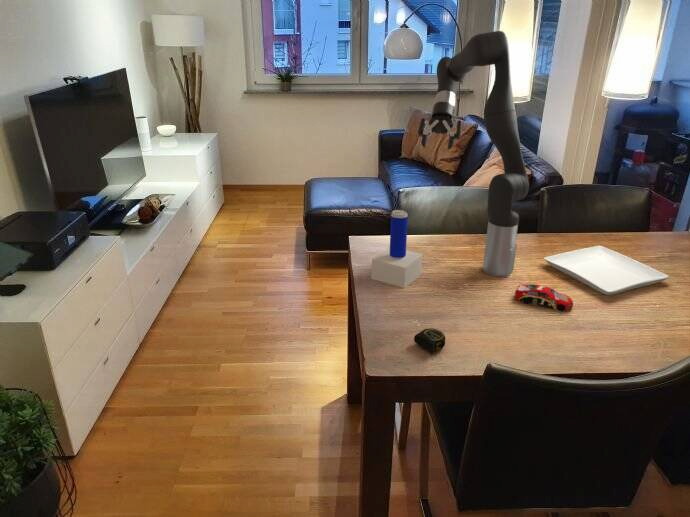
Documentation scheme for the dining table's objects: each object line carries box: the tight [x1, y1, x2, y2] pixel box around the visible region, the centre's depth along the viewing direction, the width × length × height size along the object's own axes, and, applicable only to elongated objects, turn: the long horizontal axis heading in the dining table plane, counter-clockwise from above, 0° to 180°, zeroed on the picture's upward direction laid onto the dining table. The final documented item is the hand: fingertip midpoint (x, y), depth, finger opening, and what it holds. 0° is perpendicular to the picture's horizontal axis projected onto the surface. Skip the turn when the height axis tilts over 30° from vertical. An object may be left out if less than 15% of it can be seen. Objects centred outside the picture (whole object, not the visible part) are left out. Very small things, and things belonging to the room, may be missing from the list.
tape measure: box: [413, 327, 446, 355], centre depth 134 cm, size 7×7×4 cm
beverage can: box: [389, 209, 409, 259], centre depth 165 cm, size 5×5×15 cm
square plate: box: [543, 245, 670, 296], centre depth 172 cm, size 27×27×4 cm
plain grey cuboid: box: [370, 246, 424, 289], centre depth 170 cm, size 12×12×7 cm
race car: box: [513, 283, 574, 313], centre depth 155 cm, size 16×7×5 cm, turn 62°
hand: (436, 147), depth 179 cm, fingers open, 8 cm apart
